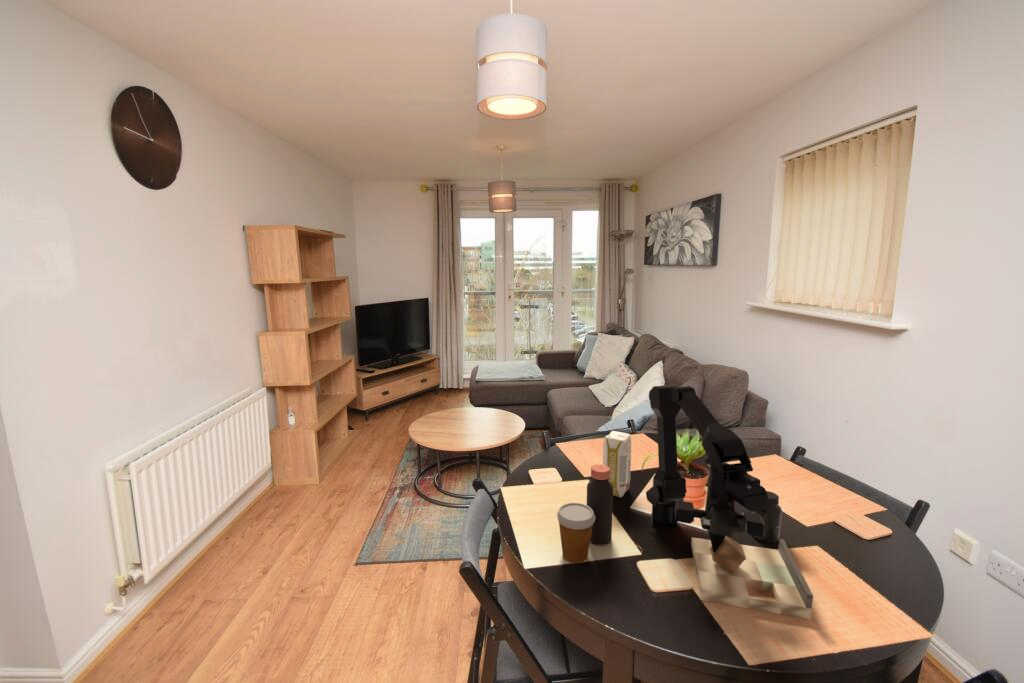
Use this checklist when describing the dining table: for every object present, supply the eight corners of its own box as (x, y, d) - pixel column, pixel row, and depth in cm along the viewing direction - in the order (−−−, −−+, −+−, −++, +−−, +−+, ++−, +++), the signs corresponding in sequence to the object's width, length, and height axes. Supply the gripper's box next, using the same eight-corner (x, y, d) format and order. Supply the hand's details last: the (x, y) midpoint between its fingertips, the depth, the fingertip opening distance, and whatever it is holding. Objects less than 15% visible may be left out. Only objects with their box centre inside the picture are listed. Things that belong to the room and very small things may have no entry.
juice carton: (631, 488, 148) (633, 433, 145) (622, 499, 141) (624, 442, 138) (609, 483, 152) (611, 429, 149) (599, 493, 145) (601, 437, 142)
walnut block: (712, 560, 104) (725, 545, 102) (709, 548, 108) (721, 532, 107) (733, 573, 103) (746, 557, 101) (729, 560, 107) (741, 545, 106)
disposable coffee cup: (585, 572, 107) (586, 526, 105) (549, 559, 112) (550, 514, 110) (600, 551, 115) (601, 508, 113) (566, 540, 120) (566, 498, 118)
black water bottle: (616, 538, 121) (618, 467, 118) (602, 549, 116) (604, 476, 113) (594, 528, 125) (596, 460, 122) (580, 538, 121) (582, 468, 117)
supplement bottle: (783, 545, 117) (787, 502, 115) (754, 542, 119) (758, 499, 117) (773, 530, 124) (777, 489, 122) (747, 527, 125) (750, 487, 123)
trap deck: (700, 599, 98) (702, 576, 97) (691, 546, 117) (692, 526, 116) (810, 619, 92) (813, 595, 92) (781, 559, 111) (783, 539, 111)
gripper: (680, 497, 98) (673, 563, 101) (776, 513, 93) (766, 582, 95) (677, 476, 109) (671, 536, 111) (763, 490, 104) (755, 552, 106)
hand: (713, 551), depth 106 cm, fingers closed, pressing on walnut block
